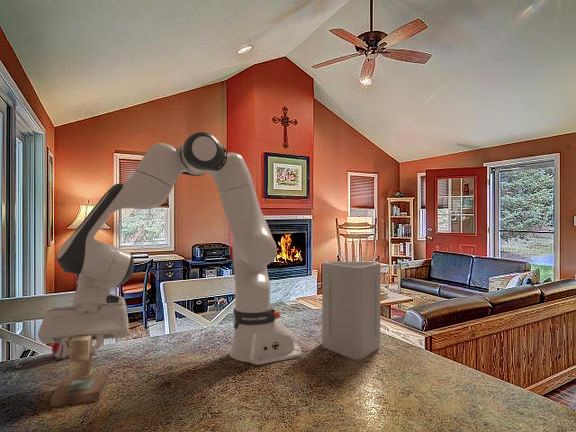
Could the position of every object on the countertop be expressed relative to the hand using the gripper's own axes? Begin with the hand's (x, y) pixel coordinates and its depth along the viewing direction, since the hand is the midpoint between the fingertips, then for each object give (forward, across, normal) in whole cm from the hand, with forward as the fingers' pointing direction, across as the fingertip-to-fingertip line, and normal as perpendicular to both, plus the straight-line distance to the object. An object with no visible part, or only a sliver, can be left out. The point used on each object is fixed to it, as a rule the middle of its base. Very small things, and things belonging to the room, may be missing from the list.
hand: (80, 355), depth 88 cm
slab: (+6, 0, +7) cm, 10 cm away
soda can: (-14, -11, +27) cm, 32 cm away
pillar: (+3, 0, +4) cm, 5 cm away
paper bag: (0, +77, +13) cm, 78 cm away
